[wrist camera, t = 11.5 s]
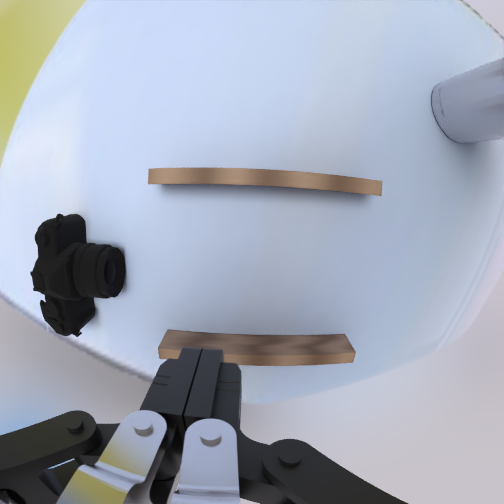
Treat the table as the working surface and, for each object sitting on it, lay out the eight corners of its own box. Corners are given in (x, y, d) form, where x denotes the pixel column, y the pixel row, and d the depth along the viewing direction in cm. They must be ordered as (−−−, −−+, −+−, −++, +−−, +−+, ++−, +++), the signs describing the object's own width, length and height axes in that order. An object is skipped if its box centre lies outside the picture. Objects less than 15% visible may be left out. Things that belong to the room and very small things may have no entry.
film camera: (133, 323, 33) (105, 360, 24) (76, 314, 33) (42, 344, 24) (124, 207, 30) (84, 216, 21) (64, 208, 29) (19, 218, 21)
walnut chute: (364, 181, 29) (382, 181, 25) (342, 343, 34) (353, 362, 30) (162, 170, 29) (148, 168, 24) (168, 339, 34) (159, 358, 29)
